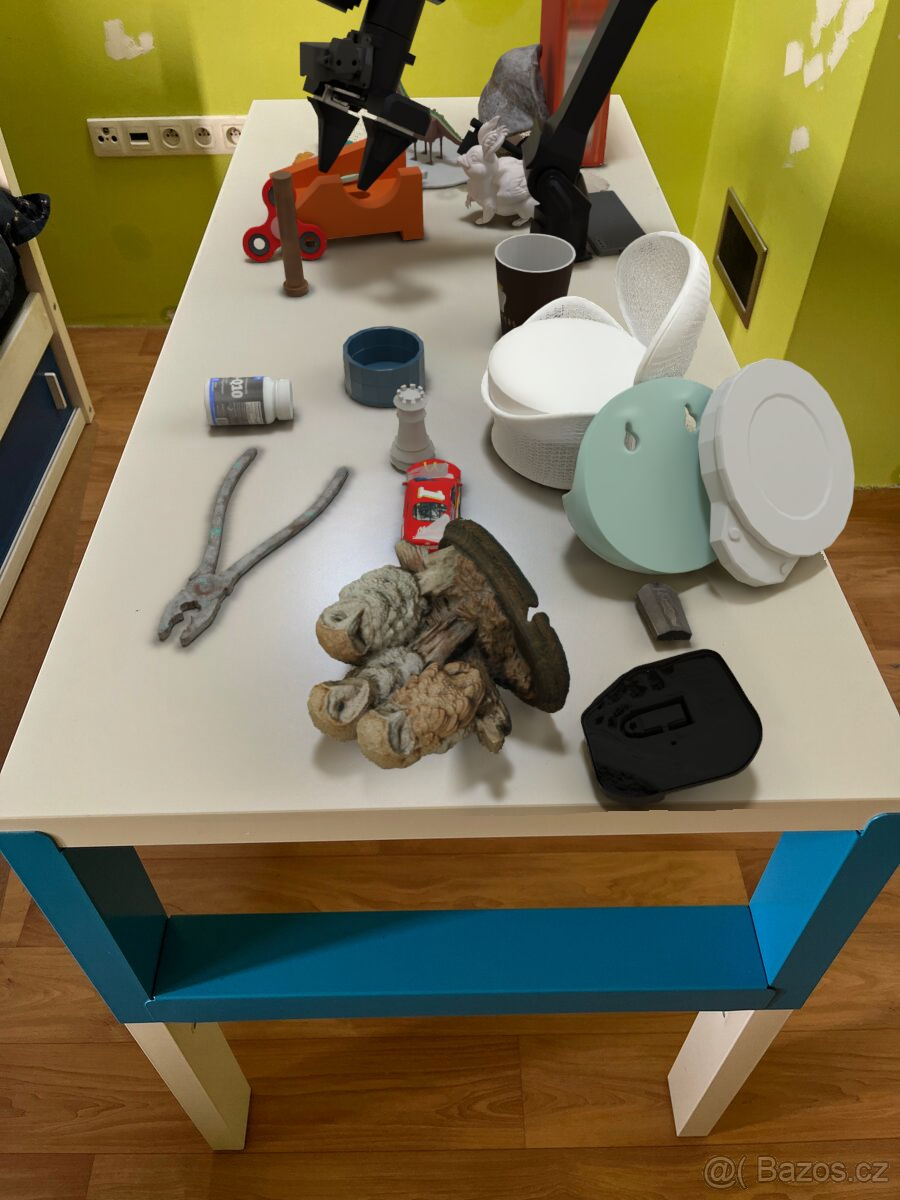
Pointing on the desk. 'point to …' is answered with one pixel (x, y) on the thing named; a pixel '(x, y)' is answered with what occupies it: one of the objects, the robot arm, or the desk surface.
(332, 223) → the tape dispenser
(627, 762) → the black plastic housing
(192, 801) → the desk surface
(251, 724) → the desk surface
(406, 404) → the rook chess piece
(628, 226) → the smartphone
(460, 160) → the figurine
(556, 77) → the file binder
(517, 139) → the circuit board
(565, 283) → the coffee mug
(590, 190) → the stone
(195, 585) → the pliers
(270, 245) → the toy
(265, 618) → the desk surface
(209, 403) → the pill bottle
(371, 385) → the bowl
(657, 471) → the planter
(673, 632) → the block
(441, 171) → the dinosaur
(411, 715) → the owl figurine
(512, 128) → the fossil
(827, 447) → the lid
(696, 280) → the chair
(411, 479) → the race car
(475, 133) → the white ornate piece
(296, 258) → the brown rod with base
